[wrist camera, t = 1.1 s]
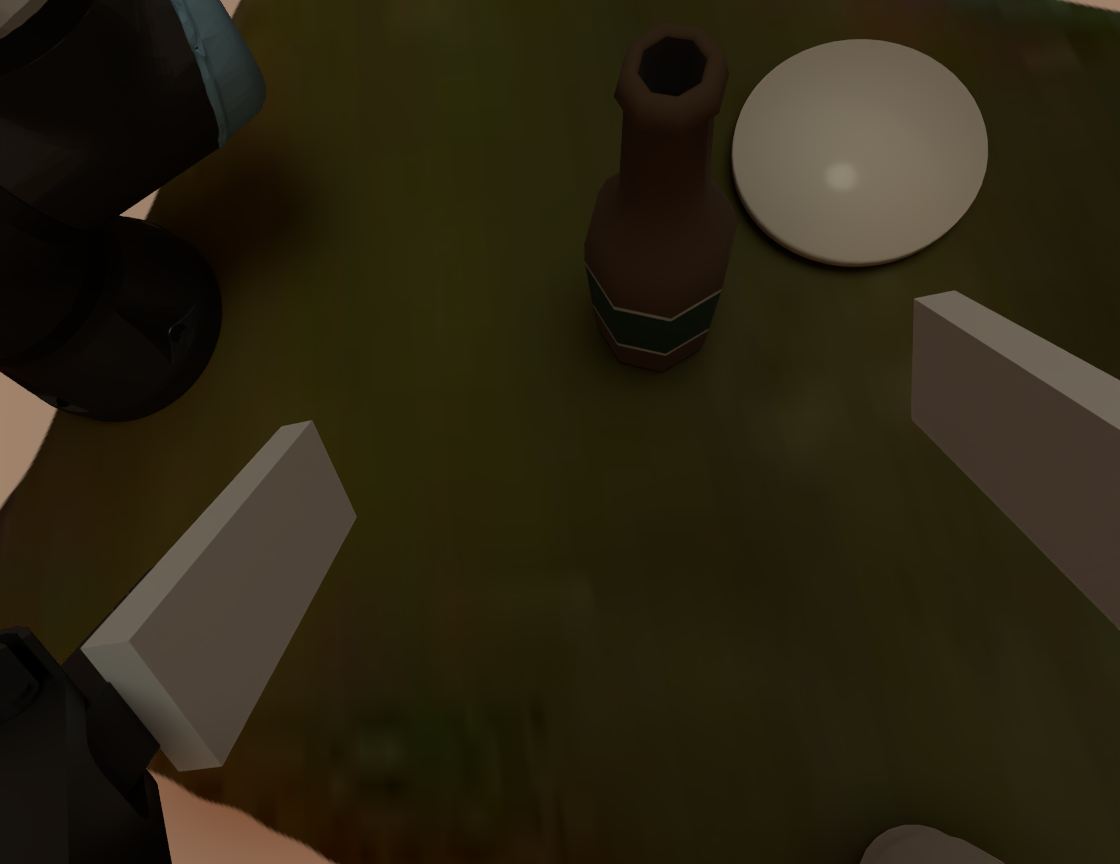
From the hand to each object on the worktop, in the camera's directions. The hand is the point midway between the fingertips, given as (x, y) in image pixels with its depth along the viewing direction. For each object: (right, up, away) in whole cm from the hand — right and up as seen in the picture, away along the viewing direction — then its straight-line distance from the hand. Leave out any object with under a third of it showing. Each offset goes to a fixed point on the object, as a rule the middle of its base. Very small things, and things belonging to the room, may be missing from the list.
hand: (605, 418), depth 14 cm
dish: (+19, +18, +30) cm, 40 cm away
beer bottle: (+5, +7, +30) cm, 31 cm away
